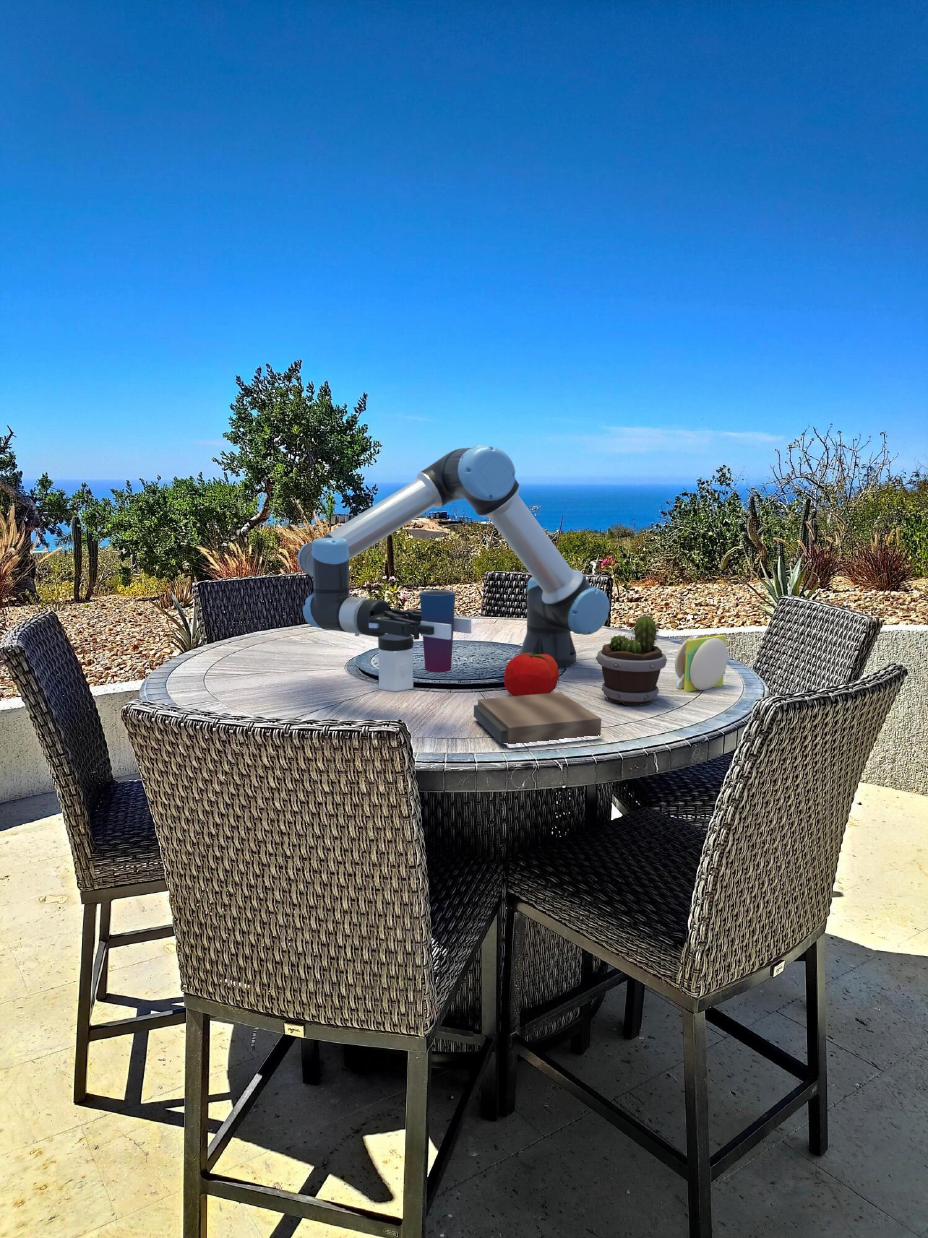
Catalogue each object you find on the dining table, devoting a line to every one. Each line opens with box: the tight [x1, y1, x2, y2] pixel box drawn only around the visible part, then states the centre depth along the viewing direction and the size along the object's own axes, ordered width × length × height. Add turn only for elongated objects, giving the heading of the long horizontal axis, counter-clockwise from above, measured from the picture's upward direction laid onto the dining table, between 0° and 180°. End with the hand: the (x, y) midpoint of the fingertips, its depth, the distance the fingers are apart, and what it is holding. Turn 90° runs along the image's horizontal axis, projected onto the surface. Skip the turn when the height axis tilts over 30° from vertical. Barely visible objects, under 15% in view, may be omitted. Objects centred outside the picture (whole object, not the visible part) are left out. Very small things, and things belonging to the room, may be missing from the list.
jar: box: [377, 634, 415, 692], centre depth 166 cm, size 9×8×12 cm
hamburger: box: [674, 634, 729, 693], centre depth 167 cm, size 12×8×12 cm
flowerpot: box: [595, 610, 668, 707], centre depth 155 cm, size 14×15×20 cm
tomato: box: [503, 652, 560, 697], centre depth 158 cm, size 11×13×10 cm
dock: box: [473, 691, 602, 744], centre depth 137 cm, size 19×18×4 cm
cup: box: [419, 589, 456, 674], centre depth 137 cm, size 7×7×15 cm
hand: (460, 629), depth 134 cm, fingers closed on cup, 6 cm apart
